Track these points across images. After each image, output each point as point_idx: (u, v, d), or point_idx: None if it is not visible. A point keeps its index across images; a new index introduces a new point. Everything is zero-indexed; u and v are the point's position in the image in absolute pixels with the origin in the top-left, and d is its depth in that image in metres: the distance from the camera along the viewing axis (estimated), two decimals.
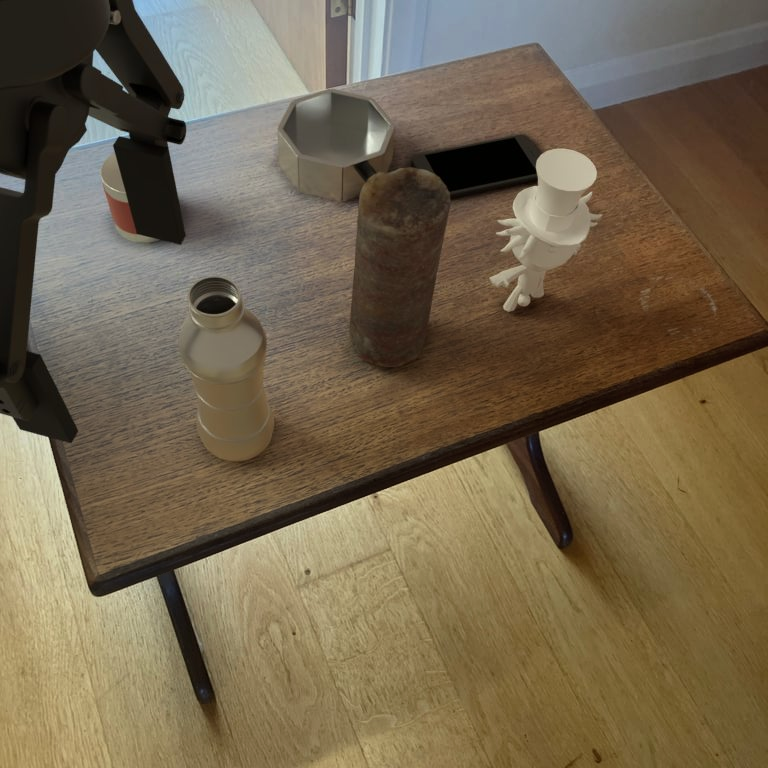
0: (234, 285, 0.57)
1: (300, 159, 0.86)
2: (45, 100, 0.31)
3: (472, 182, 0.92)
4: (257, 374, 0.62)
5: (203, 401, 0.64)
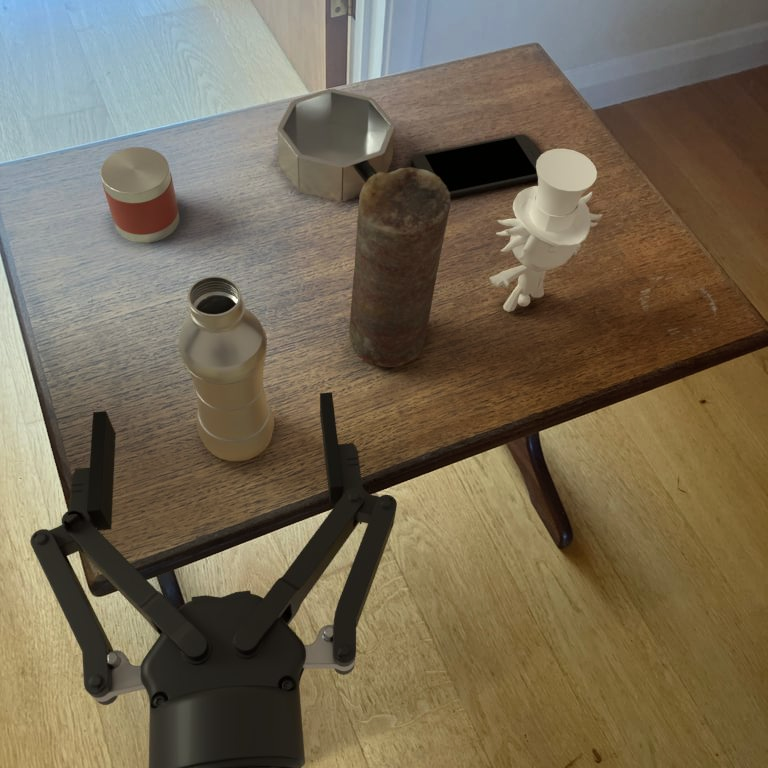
0: (234, 285, 0.57)
1: (300, 159, 0.86)
2: None
3: (472, 182, 0.92)
4: (257, 374, 0.62)
5: (203, 401, 0.64)
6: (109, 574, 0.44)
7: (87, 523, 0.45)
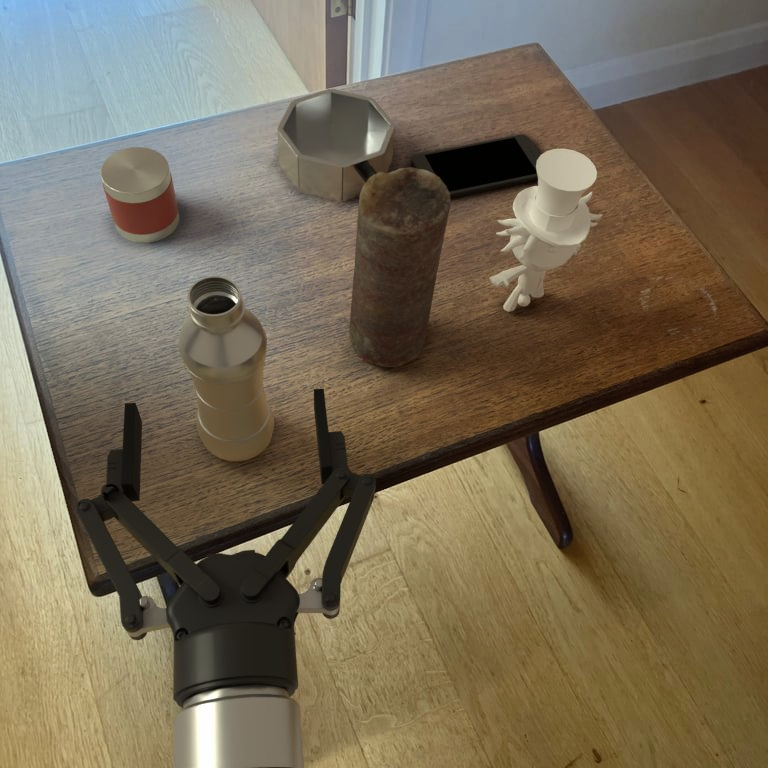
0: (234, 285, 0.57)
1: (300, 159, 0.86)
2: None
3: (472, 182, 0.92)
4: (257, 374, 0.62)
5: (203, 401, 0.64)
6: (140, 535, 0.54)
7: (121, 494, 0.55)
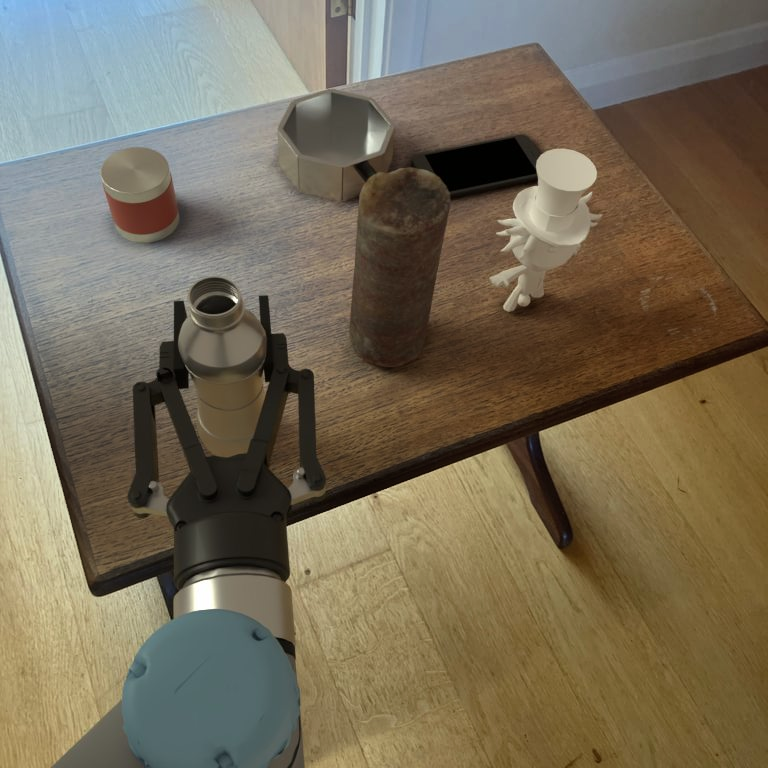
0: (234, 285, 0.57)
1: (300, 159, 0.86)
2: None
3: (472, 182, 0.92)
4: (257, 374, 0.62)
5: (203, 401, 0.64)
6: (173, 420, 0.59)
7: (173, 380, 0.60)
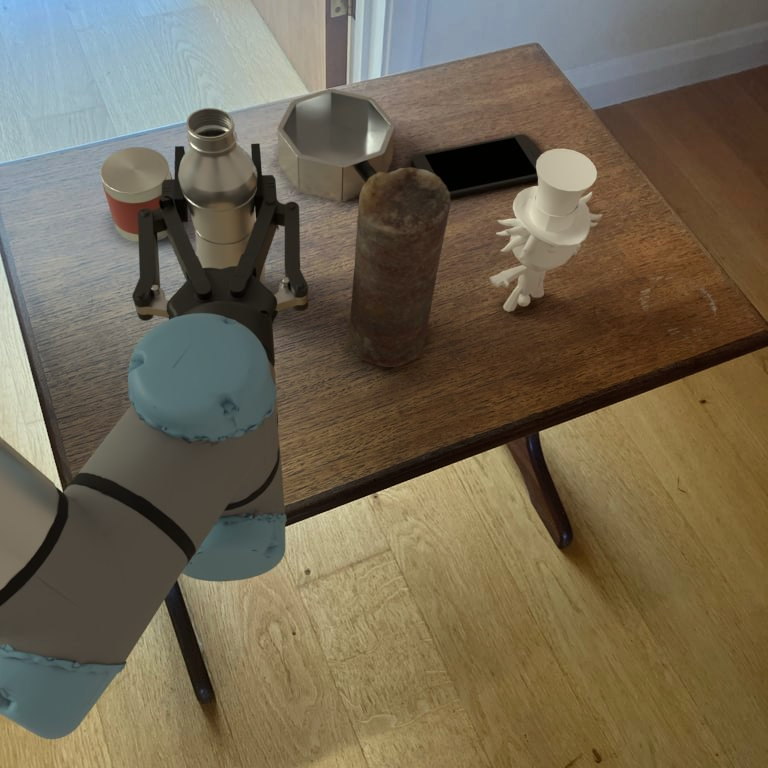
0: (228, 115, 0.65)
1: (300, 159, 0.86)
2: None
3: (472, 182, 0.92)
4: (248, 206, 0.69)
5: (200, 237, 0.72)
6: (173, 238, 0.66)
7: (174, 208, 0.68)
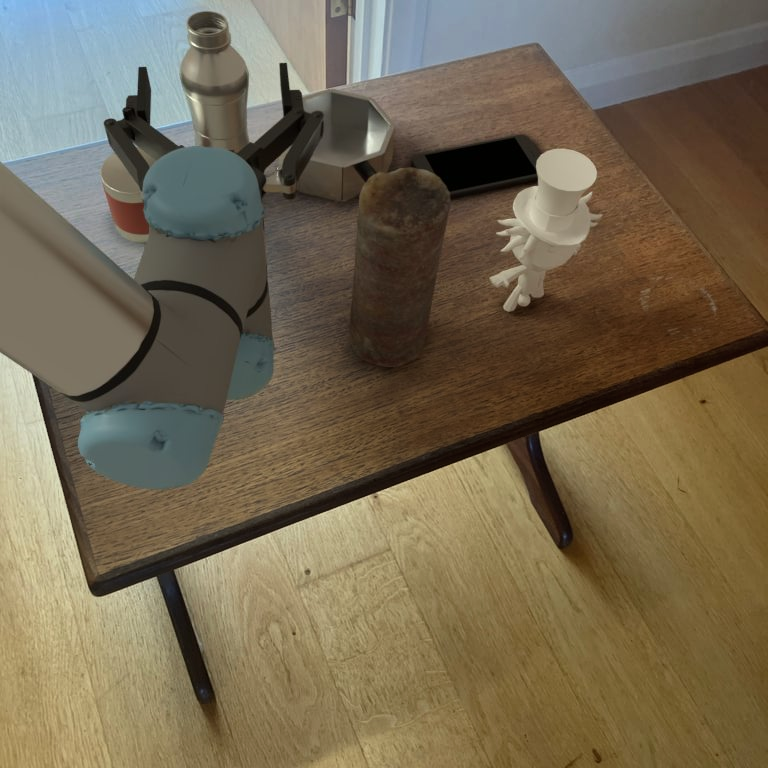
0: (223, 17, 0.74)
1: None
2: None
3: (472, 182, 0.92)
4: (241, 102, 0.78)
5: (199, 133, 0.81)
6: (151, 139, 0.74)
7: (137, 116, 0.76)
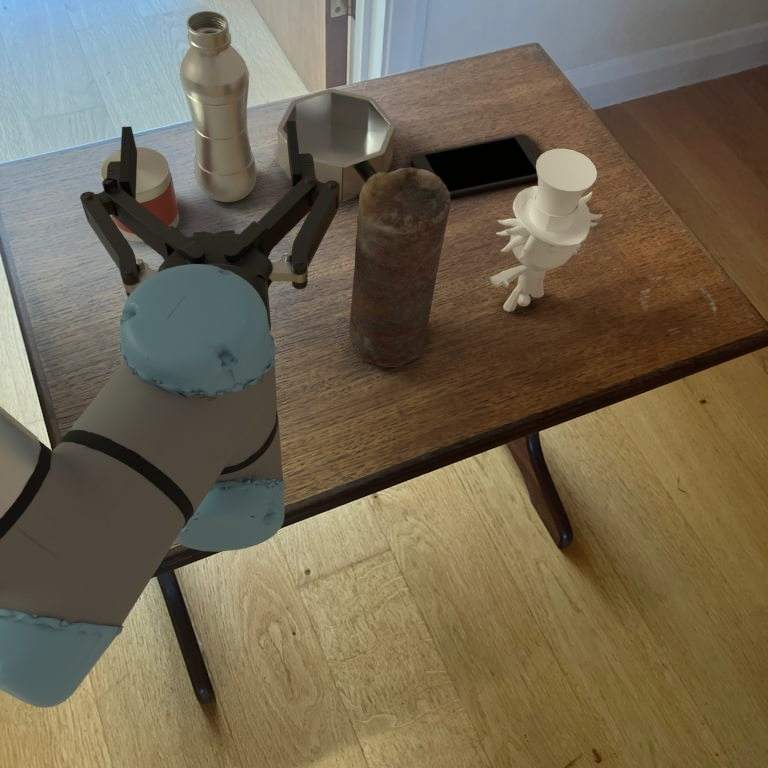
0: (223, 17, 0.74)
1: None
2: None
3: (472, 182, 0.92)
4: (241, 102, 0.78)
5: (199, 133, 0.81)
6: (136, 217, 0.63)
7: (119, 189, 0.64)
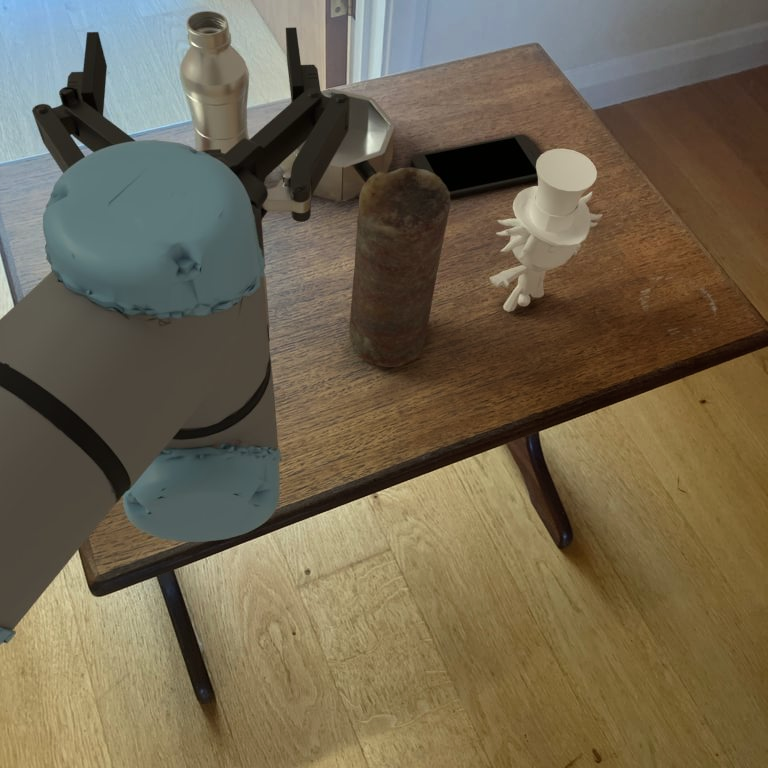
0: (223, 17, 0.74)
1: None
2: None
3: (472, 182, 0.92)
4: (241, 102, 0.78)
5: (199, 133, 0.81)
6: (100, 133, 0.51)
7: (81, 101, 0.53)
